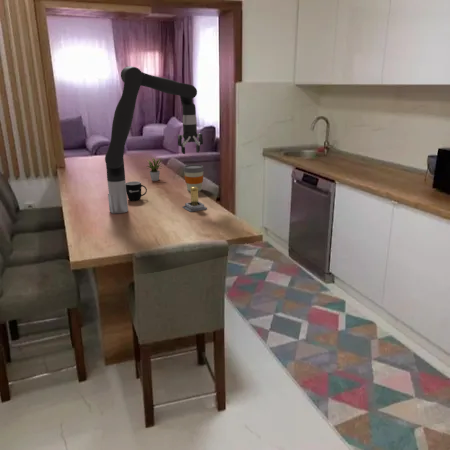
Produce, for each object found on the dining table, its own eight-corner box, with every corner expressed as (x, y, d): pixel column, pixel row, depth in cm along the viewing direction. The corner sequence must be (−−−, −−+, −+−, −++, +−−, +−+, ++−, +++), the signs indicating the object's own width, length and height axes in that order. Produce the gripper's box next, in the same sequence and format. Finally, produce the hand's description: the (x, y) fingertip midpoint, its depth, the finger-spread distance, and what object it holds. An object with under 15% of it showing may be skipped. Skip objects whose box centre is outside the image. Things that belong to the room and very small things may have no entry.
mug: (127, 202, 252) (125, 185, 248) (126, 198, 260) (125, 181, 257) (148, 200, 254) (146, 183, 251) (146, 196, 263) (145, 180, 259)
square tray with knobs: (190, 212, 231) (190, 207, 231) (182, 207, 240) (182, 203, 239) (207, 209, 236) (206, 204, 235) (198, 204, 244) (198, 200, 243)
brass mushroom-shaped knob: (192, 208, 235) (192, 188, 231) (189, 206, 238) (188, 187, 235) (200, 207, 237) (200, 187, 234) (196, 205, 241) (196, 186, 237)
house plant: (169, 177, 312) (167, 155, 307) (164, 182, 299) (163, 158, 294) (149, 177, 313) (148, 155, 308) (144, 182, 300) (142, 158, 295)
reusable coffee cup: (201, 192, 271) (200, 168, 266) (182, 191, 273) (181, 168, 268) (206, 187, 282) (205, 164, 277) (187, 187, 285) (186, 164, 280)
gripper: (180, 124, 230) (181, 155, 235) (204, 123, 237) (205, 152, 242) (174, 123, 236) (176, 153, 242) (198, 121, 243) (199, 150, 248)
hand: (190, 153), depth 242 cm, fingers open, 8 cm apart
